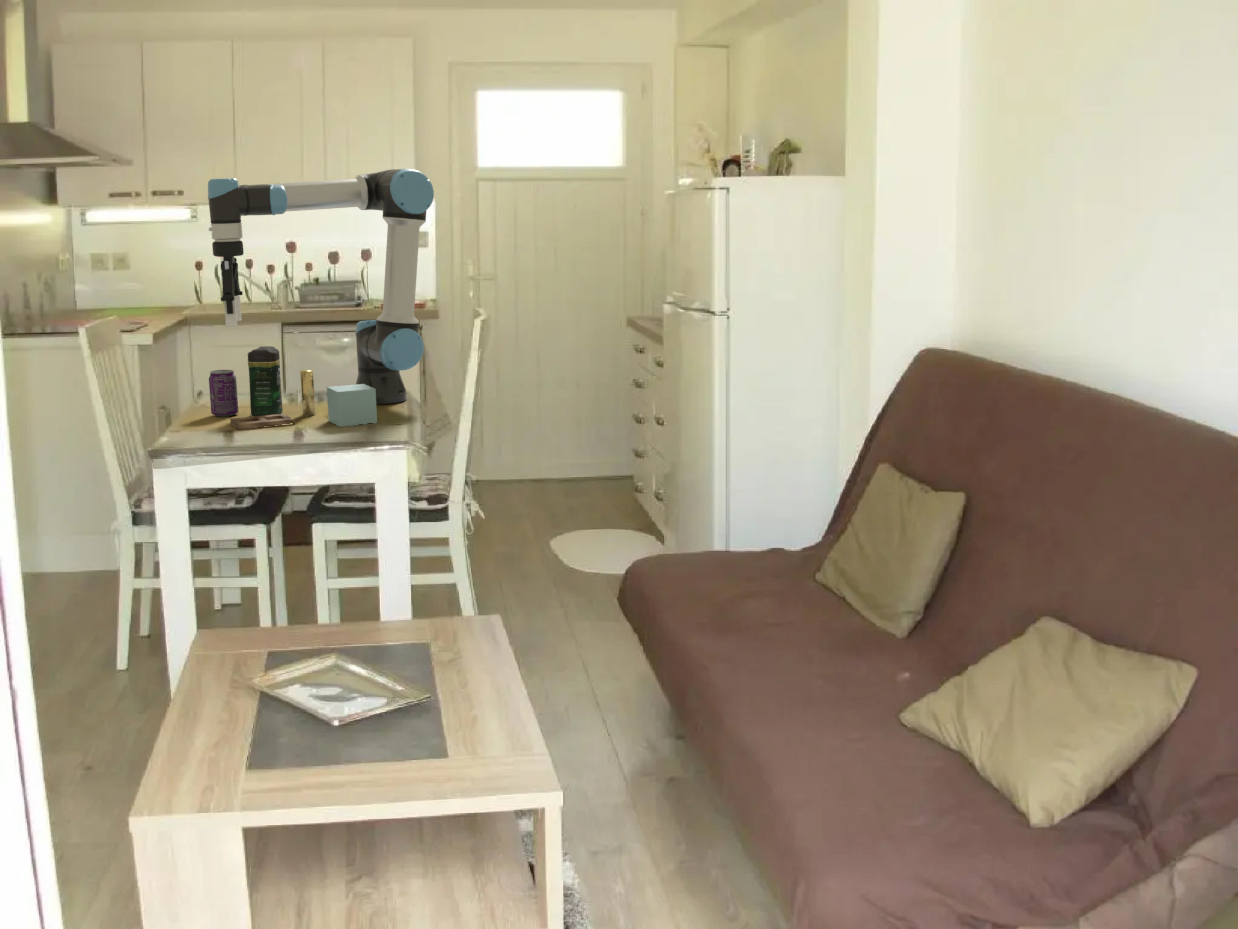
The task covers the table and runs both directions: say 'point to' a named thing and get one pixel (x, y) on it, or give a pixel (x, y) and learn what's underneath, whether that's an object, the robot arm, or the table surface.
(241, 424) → the brown grid frame
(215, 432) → the table surface
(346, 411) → the block
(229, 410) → the beverage can
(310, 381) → the brass peg
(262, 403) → the coffee jar
